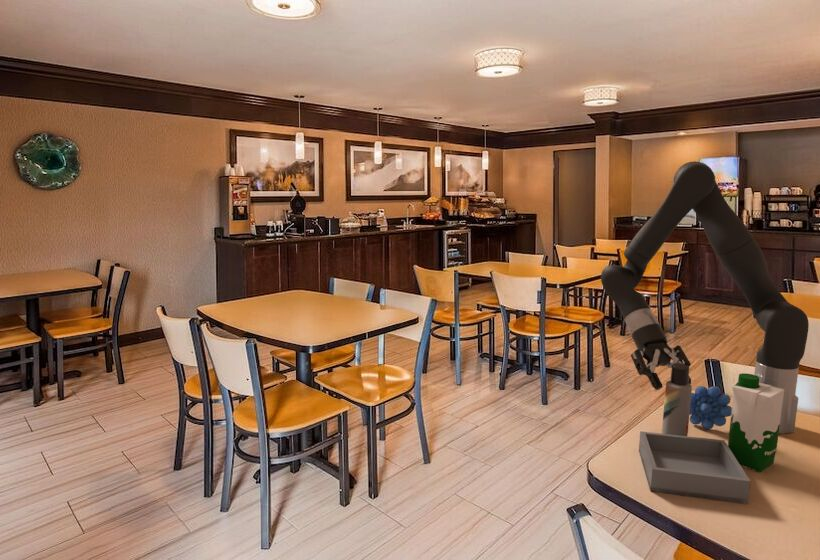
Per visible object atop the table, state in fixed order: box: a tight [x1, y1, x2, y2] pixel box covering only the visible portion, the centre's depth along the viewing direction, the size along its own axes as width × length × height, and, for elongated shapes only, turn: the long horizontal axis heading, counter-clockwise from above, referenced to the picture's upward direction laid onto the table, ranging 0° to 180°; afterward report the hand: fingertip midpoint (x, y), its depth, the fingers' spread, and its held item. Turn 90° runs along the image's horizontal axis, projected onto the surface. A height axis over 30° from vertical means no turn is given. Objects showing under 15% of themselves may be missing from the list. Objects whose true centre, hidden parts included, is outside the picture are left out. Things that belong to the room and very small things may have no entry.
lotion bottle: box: [661, 363, 693, 436], centre depth 133 cm, size 6×6×20 cm
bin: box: [638, 430, 751, 505], centre depth 119 cm, size 18×18×5 cm
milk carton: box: [727, 373, 784, 473], centre depth 123 cm, size 9×9×20 cm
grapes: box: [689, 385, 732, 430], centre depth 142 cm, size 12×7×12 cm, turn 42°
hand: (673, 386), depth 134 cm, fingers open, 8 cm apart
